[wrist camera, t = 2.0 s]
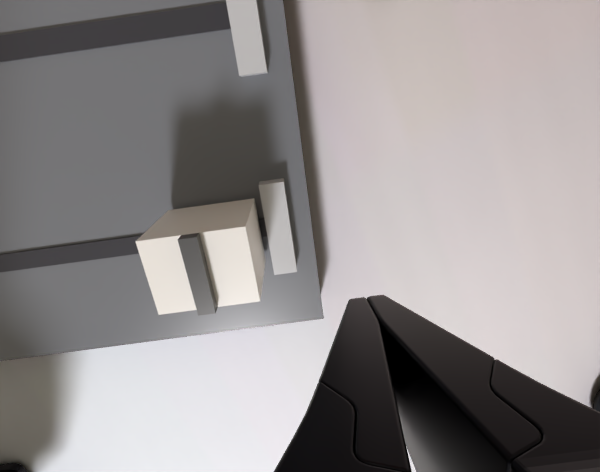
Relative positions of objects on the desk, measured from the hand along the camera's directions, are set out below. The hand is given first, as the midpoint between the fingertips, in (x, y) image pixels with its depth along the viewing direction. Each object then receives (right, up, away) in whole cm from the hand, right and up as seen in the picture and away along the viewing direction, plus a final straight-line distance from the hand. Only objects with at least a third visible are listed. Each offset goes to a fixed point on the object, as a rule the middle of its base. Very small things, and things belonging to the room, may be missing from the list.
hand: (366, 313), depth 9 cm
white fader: (-5, +2, +7) cm, 9 cm away
